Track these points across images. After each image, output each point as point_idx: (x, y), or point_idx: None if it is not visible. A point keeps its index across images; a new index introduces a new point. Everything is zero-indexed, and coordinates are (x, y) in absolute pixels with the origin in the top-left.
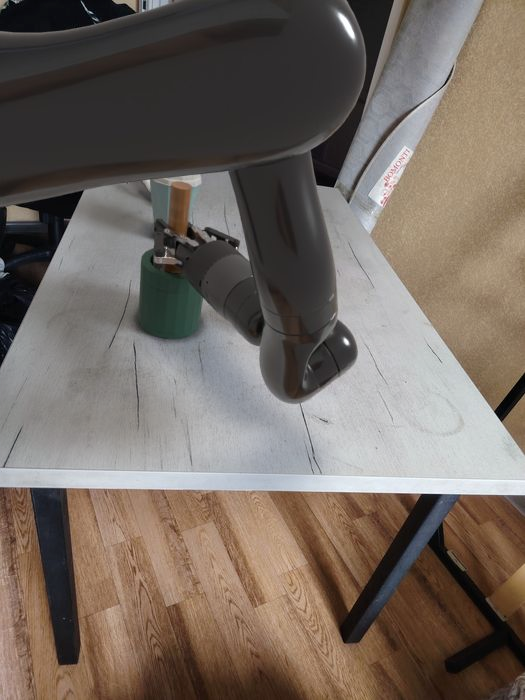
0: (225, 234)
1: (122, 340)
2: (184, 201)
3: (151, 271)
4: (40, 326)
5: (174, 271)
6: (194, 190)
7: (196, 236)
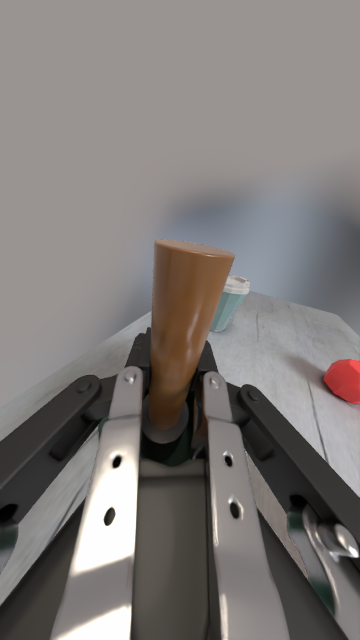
0: (319, 457)
1: (74, 470)
2: (186, 308)
3: (99, 428)
4: (34, 397)
5: (156, 426)
6: (240, 297)
7: (202, 430)
